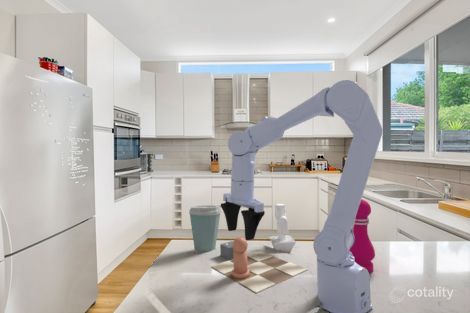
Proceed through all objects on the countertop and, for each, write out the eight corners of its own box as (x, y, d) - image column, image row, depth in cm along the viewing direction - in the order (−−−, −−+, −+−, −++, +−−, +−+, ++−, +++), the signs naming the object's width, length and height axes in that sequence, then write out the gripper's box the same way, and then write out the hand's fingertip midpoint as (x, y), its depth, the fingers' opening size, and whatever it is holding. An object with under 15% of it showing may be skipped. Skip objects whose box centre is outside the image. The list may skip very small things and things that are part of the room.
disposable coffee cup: (186, 248, 88) (185, 204, 88) (217, 243, 92) (216, 201, 92) (193, 259, 78) (192, 209, 78) (226, 253, 82) (225, 206, 82)
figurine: (274, 256, 79) (272, 206, 79) (268, 245, 88) (267, 201, 89) (297, 254, 79) (296, 206, 80) (289, 244, 89) (287, 201, 89)
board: (308, 273, 66) (308, 269, 66) (256, 298, 55) (256, 292, 55) (259, 254, 80) (259, 250, 81) (211, 270, 69) (211, 266, 69)
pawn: (253, 275, 64) (252, 237, 64) (239, 280, 61) (238, 241, 61) (242, 269, 67) (241, 233, 67) (228, 274, 65) (227, 237, 65)
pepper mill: (379, 275, 64) (377, 195, 65) (348, 273, 66) (346, 195, 66) (370, 263, 72) (368, 191, 72) (342, 262, 73) (340, 191, 73)
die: (241, 259, 77) (241, 244, 77) (229, 263, 74) (229, 247, 74) (232, 255, 80) (232, 240, 81) (220, 259, 78) (220, 243, 78)
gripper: (214, 177, 68) (212, 228, 68) (247, 185, 56) (244, 247, 56) (236, 177, 72) (234, 225, 72) (271, 183, 60) (269, 241, 60)
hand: (240, 234), depth 65 cm, fingers open, 7 cm apart
